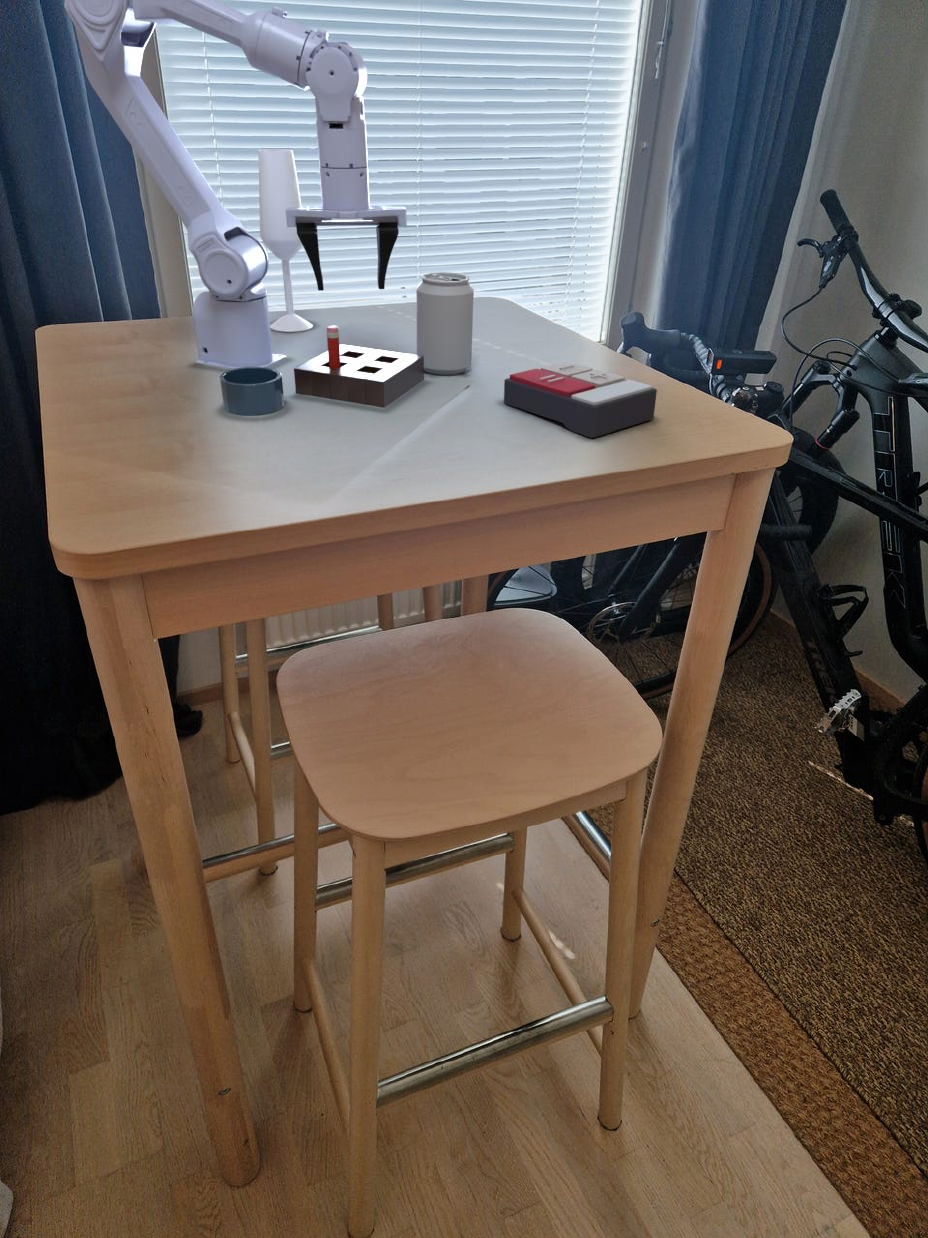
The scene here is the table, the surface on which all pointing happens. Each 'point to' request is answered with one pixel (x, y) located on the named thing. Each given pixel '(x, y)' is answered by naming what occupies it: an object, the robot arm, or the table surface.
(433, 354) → the can
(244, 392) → the cup
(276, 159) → the champagne flute
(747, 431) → the table surface
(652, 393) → the calculator
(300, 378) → the pencil stand
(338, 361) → the pencil
